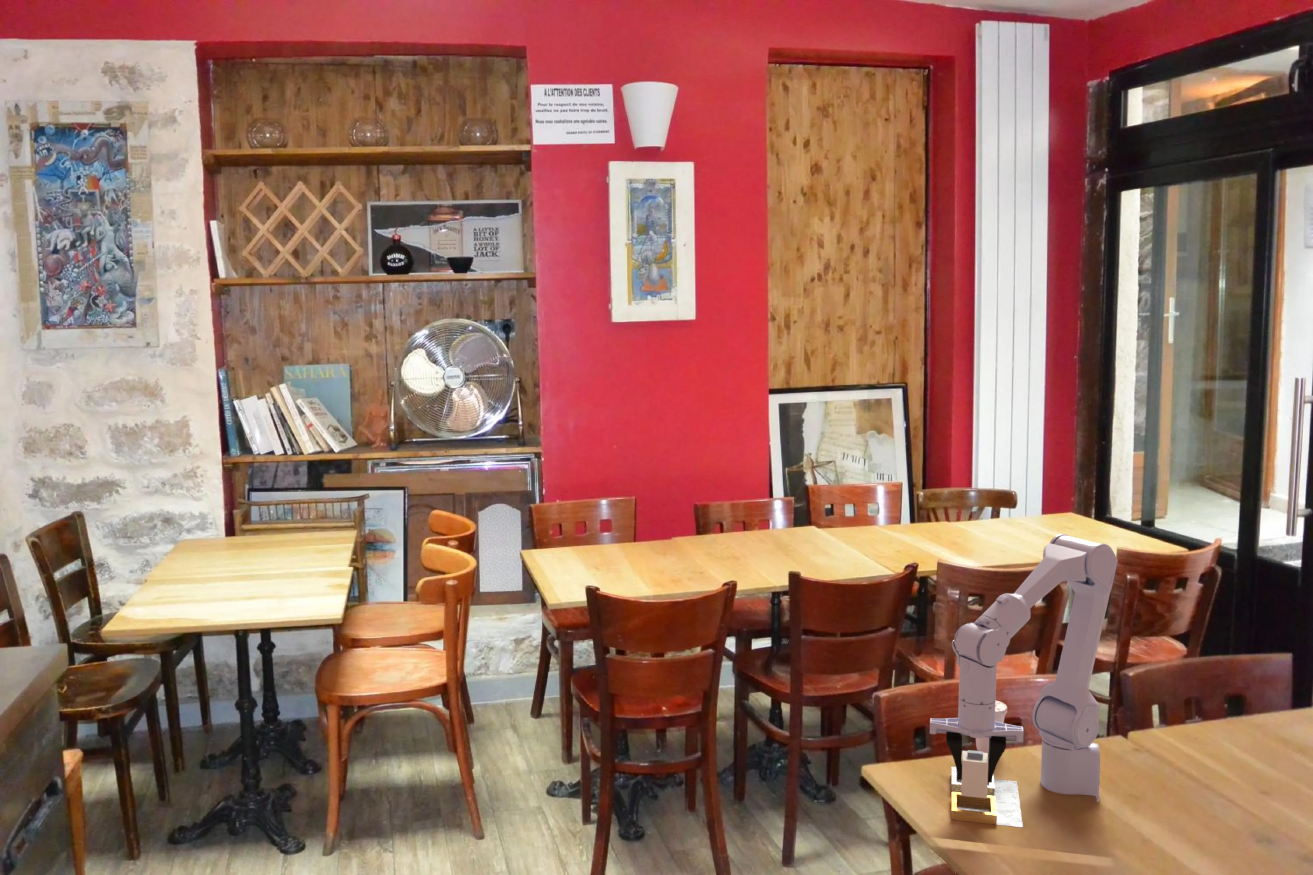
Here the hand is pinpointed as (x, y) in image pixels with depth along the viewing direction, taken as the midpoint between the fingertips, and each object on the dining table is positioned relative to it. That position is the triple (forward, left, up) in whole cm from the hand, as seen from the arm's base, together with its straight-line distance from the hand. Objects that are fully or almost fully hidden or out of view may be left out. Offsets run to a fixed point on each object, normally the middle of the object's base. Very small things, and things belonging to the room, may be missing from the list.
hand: (974, 778), depth 180 cm
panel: (-2, -5, -7) cm, 9 cm away
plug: (0, 0, -2) cm, 2 cm away
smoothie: (-3, -26, -7) cm, 27 cm away
